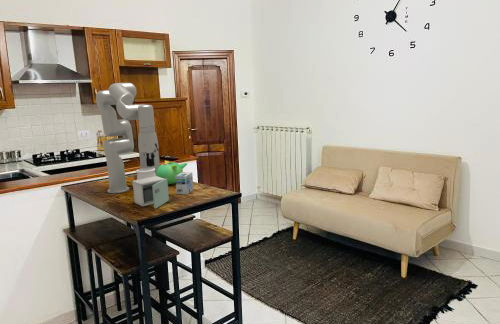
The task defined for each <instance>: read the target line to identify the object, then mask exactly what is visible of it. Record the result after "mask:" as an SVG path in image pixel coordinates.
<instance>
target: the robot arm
mask: <svg viewBox="0 0 500 324" xmlns="http://www.w3.org/2000/svg"><path fill="white" fill-rule="evenodd" d="M136 95H137V87H136V86H135V84H134V83H131V82H115V83H112V84H110V85H109V87H108V89H103V90H99V91H97V93H96V94H95V103H96V106H97V108H98V111H99V113H100V117H101V124H102V130H103V133H104V135H105V137H107V138H108V137H110V138H109V139H107V140H105V141H103V144H102V149H103V152H104V155H105V160H106V167H107V168H106V169H107V175H108V184H109V188H108V189H107V191H106V192H107V193H108V194H121V193H125V192H128V191H130V186H127V181H126V179H127V178H126V173H125V172H126V171H125V163H124V160H123V158H122V157H121V156H120V155H124V154H129V153H132V152H133V151H134V149H135V142H134V135H133V129H132V124H131V123H130V121H132V120H133V121H136V120H138V127H139V128H138V130H139V132H138V136H137V137H138V139H137V140H138V141H137V144H138V147H137V148H138V153H139V152H141V154H143V155H144V156H145V158H146V163H147V166H149V167H151V166H154V158H155V156H156V155H158V152H159V149H160V148H159V141H158V136H157V132H156V126H155V125H156V123H155V115H154V114H155V112H154V107H153V105H152V104H146V103H145V104H144V103H141V104H134V101H135V98H136ZM112 106H115V108H116V110H115V108H114V107H112ZM117 113H118V116H120V117H121V118H122V119H118V116H117ZM121 136H122V137H121ZM111 137H115V138H111ZM116 137H117V138H116ZM151 154H152V155H151Z"/></svg>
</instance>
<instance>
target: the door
mask: <svg viewBox="0 0 500 324" xmlns="http://www.w3.org/2000/svg"><path fill="white" fill-rule="evenodd" d="M152 189H153V200H154V204H153V208H154V209H157V208H159V207H160V206H162V205H163V204H166V203H167V202H169V201H170V197H169V196H170V195H169V184H168V182H167V179H164V180H162V181H160V182H158V183H156V184H154V185H152Z"/></svg>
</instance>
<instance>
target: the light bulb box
mask: <svg viewBox="0 0 500 324" xmlns="http://www.w3.org/2000/svg"><path fill="white" fill-rule="evenodd" d="M175 178H176V183H175V186H176V187H175V188H176V195H188V194H190V193H191V192H192V191H194V178H193V171H191V172H190V171H189V172H188V171H183V172H181V173H180V174H178V175H177V176H175Z"/></svg>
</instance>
